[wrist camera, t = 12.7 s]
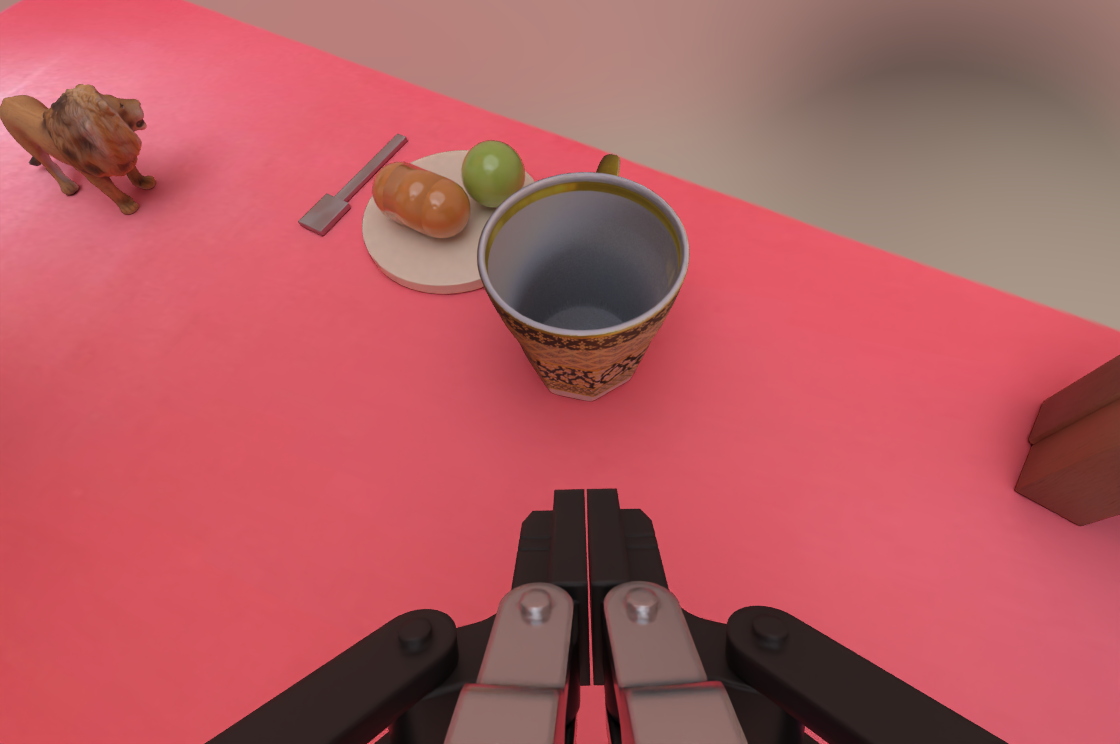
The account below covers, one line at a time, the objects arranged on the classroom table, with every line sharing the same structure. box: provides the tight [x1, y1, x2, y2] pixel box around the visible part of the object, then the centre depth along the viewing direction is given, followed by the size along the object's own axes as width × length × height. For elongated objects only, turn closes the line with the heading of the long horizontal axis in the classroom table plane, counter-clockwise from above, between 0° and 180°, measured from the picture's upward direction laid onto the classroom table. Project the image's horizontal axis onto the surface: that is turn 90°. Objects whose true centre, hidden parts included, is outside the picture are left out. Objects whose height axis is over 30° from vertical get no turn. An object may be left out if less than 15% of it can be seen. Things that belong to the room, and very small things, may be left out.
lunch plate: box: [362, 140, 535, 294], centre depth 39 cm, size 13×13×5 cm
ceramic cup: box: [477, 154, 689, 401], centre depth 31 cm, size 13×10×10 cm
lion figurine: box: [0, 84, 156, 214], centre depth 41 cm, size 15×5×9 cm, turn 74°
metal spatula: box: [298, 134, 407, 236], centre depth 43 cm, size 11×2×1 cm, turn 150°
